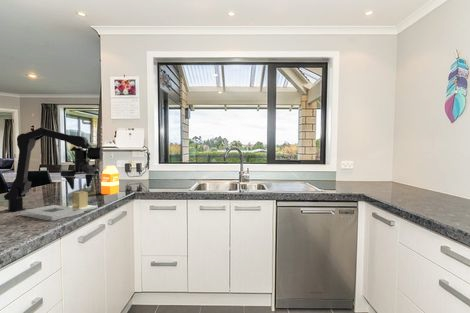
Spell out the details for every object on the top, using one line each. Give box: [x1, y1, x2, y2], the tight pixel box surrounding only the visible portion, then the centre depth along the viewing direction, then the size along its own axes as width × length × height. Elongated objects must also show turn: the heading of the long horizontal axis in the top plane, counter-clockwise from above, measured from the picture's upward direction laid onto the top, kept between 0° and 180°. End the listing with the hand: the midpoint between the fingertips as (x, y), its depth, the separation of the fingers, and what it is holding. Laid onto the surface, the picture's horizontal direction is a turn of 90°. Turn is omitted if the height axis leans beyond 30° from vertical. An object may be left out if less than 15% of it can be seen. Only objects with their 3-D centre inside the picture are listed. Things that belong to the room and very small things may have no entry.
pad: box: [67, 204, 97, 212], centre depth 143 cm, size 12×10×1 cm
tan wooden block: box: [72, 190, 89, 208], centre depth 143 cm, size 5×5×8 cm
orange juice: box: [100, 165, 120, 195], centre depth 192 cm, size 8×9×20 cm
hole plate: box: [20, 204, 85, 222], centre depth 130 cm, size 22×16×2 cm
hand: (80, 188), depth 143 cm, fingers open, 9 cm apart
